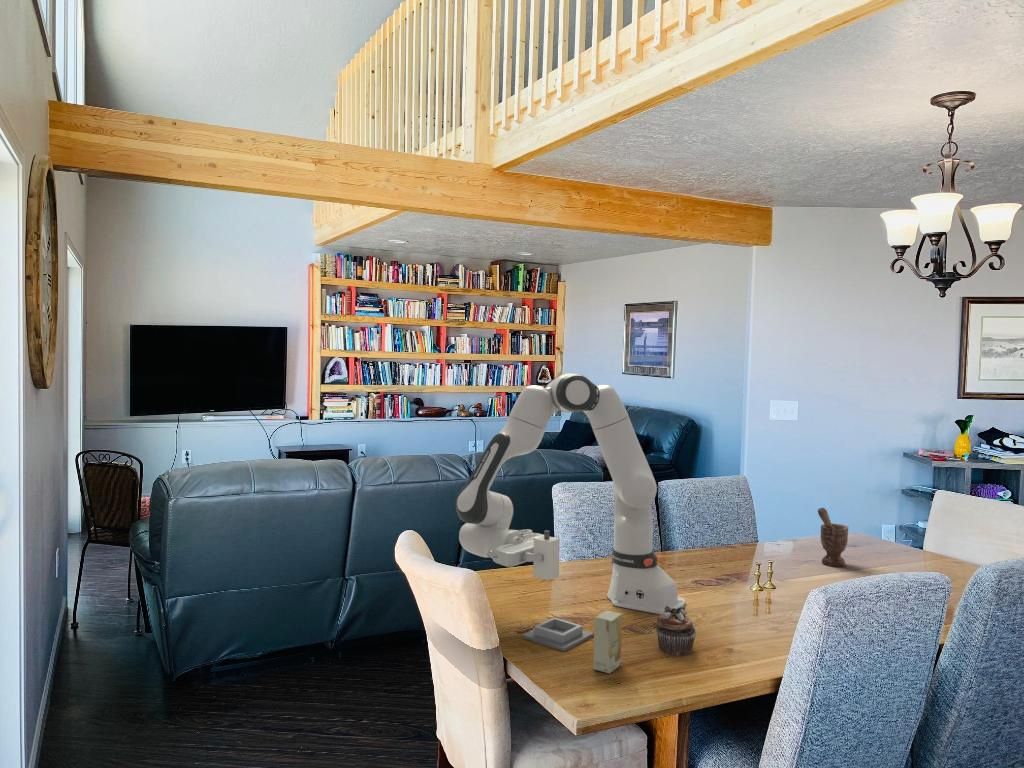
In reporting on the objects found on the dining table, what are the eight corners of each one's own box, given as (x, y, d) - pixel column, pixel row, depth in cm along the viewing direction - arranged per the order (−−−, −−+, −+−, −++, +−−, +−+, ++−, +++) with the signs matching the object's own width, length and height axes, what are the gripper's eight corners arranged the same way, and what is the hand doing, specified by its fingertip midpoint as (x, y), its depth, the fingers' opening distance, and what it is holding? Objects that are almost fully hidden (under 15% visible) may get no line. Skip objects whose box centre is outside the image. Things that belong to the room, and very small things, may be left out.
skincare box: (609, 674, 173) (611, 621, 172) (592, 669, 175) (593, 617, 174) (621, 664, 178) (622, 612, 178) (604, 660, 181) (605, 609, 180)
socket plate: (593, 636, 195) (594, 625, 195) (564, 651, 185) (564, 640, 185) (552, 623, 203) (552, 612, 203) (522, 637, 193) (522, 626, 193)
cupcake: (658, 656, 183) (659, 615, 182) (653, 640, 193) (654, 601, 192) (699, 657, 183) (700, 616, 182) (691, 641, 192) (692, 602, 192)
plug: (558, 576, 200) (559, 531, 200) (548, 580, 197) (549, 534, 196) (543, 572, 204) (544, 527, 203) (533, 576, 200) (533, 531, 199)
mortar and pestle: (838, 571, 253) (840, 511, 251) (812, 566, 258) (814, 507, 257) (850, 564, 261) (852, 506, 260) (824, 558, 267) (826, 502, 266)
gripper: (482, 542, 200) (524, 552, 191) (531, 528, 216) (571, 536, 207) (482, 566, 200) (523, 577, 192) (531, 550, 216) (571, 559, 207)
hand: (549, 556), depth 199 cm, fingers closed on plug, 4 cm apart
